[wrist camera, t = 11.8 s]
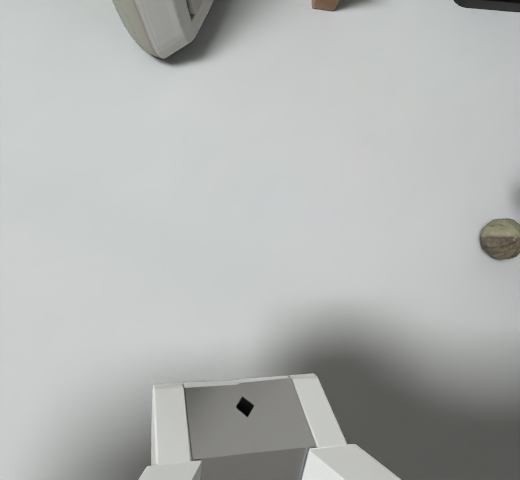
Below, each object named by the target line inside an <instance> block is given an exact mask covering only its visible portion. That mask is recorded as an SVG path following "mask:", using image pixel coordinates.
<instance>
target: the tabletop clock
mask: <svg viewBox="0 0 520 480" xmlns="http://www.w3.org/2000/svg"><path fill="white" fill-rule="evenodd" d="M480 240H481V245H482V248H483V249H484V250H485V251H486V252H487V253H488V254H489V255H490V256H491V257H493V258H495V259H510V258H514V257H516V256H517V255H518V254H519V253H520V224H519V223H517V222H516V221H515V220H512V219H495V220H492V221H491V222H489V223H488V224H487V225H486V226H485V227H484V228H483V230H482V233H481V236H480Z"/></svg>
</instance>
